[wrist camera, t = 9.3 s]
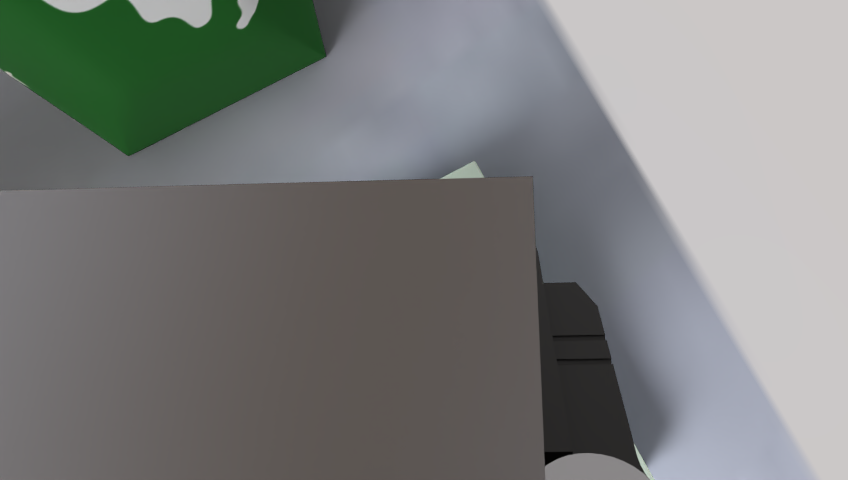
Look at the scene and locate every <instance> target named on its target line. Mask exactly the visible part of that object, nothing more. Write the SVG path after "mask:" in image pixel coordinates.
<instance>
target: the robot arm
mask: <svg viewBox="0 0 848 480" xmlns="http://www.w3.org/2000/svg"><path fill="white" fill-rule="evenodd" d="M536 269H537V293H538V317H539V340H540V364H541V387H542V411H543V434H544V458H545V480H650V479H649V478H648V477H647V475H646V474H645V472H644V470H643V469H642V467H641V465H640V462H639V460H638V457H637V454H636V450H635V446H634V442H633V439H632V435H631V431H630V427H629V424H628V420H627V416H626V412H625V409H624V405H623V401H622V397H621V393H620V390H619V386H618V382H617V378H616V375H615V371H614V367H613V364H611V356H610V352H609V348H608V344H607V341H606V340H605V333H604V329H603V326H602V322H601V318H600V314H599V311H598V307H597V305H596V304H595V303H594V302H593V301H592V300H591V299H590V298H589V297H588V295H587V294H586V293H585V292H584V291H583V290H582V289H581V288H580V287H579V286H578V284H577V283H576V282H572V283H543V280H542V274H541V268H540V263H539V257H538V252H537V248H536Z"/></svg>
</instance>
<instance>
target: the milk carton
mask: <svg viewBox="0 0 848 480" xmlns="http://www.w3.org/2000/svg"><path fill="white" fill-rule="evenodd" d="M324 57H326V53H325V49H324V45H323V42H322V38H321V33H320V29H319V25H318V21H317V17H316V13H315V8H314V4H313V0H0V69H1V70H2V71H4V72H5V73H7V74H8V75H10V76H11V77H13V78H14V79H16V80H17V81H18V82H20V83H21V84H23V85H24V86H26V87H27V88H29V89H30V90H32V91H33V92H35V93H36V94H38V95H39V96H41V97H42V98H44V99H45V100H47V101H48V102H50V103H51V104H53V105H54V106H56V107H57V108H59V109H60V110H61V111H63V112H64V113H66V114H67V115H69V116H70V117H72V118H73V119H75V120H76V121H78V122H79V123H81V124H82V125H84V126H85V127H87V128H88V129H90V130H91V131H93V132H94V133H95V134H97V135H98V136H100V137H101V138H103V139H104V140H106V141H107V142H109V143H110V144H112V145H113V146H115V147H116V148H118V149H119V150H120V151H122V152H123V153H125V154H126V155H127V156H130V155H132V154H134V153H136V152H138V151H140V150H142V149H144V148H146V147H148V146H150V145H152V144H154V143H156V142H158V141H160V140H162V139H164V138H166V137H168V136H170V135H172V134H174V133H176V132H178V131H180V130H182V129H183V128H185V127H187V126H189V125H191V124H193V123H195V122H197V121H199V120H201V119H203V118H205V117H207V116H209V115H211V114H213V113H215V112H217V111H219V110H221V109H223V108H225V107H227V106H229V105H231V104H233V103H235V102H237V101H239V100H241V99H243V98H245V97H247V96H249V95H251V94H253V93H255V92H257V91H259V90H261V89H263V88H265V87H267V86H269V85H271V84H273V83H275V82H277V81H279V80H281V79H283V78H285V77H287V76H289V75H291V74H293V73H295V72H297V71H299V70H301V69H303V68H305V67H307V66H309V65H311V64H313V63H315V62H317V61H319V60H321V59H323V58H324Z"/></svg>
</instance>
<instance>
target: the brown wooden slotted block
mask: <svg viewBox="0 0 848 480" xmlns="http://www.w3.org/2000/svg"><path fill="white" fill-rule="evenodd" d="M0 480H545V458H544V434H543V411H542V387H541V364H540V340H539V317H538V293H537V269H536V246H535V222H534V199H533V176H527V177H490V178H452V179H415V180H377V181H340V182H302V183H265V184H227V185H189V186H152V187H114V188H77V189H39V190H2V191H0Z"/></svg>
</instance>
